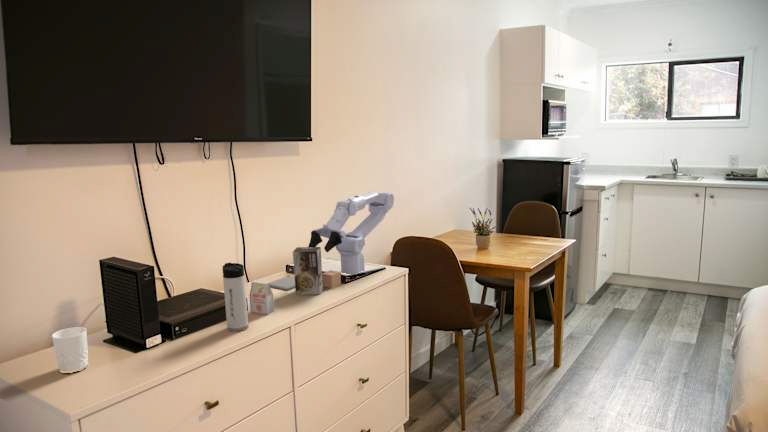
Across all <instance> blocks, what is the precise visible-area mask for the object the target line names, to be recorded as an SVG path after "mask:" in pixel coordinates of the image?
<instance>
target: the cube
mask: <svg viewBox="0 0 768 432" xmlns="http://www.w3.org/2000/svg"><path fill="white" fill-rule="evenodd" d="M341 278H342V277H341V271H335V270H328V271H325V272H322V280H323V288H329V289H335V288H337V287H339V286H341V285H342V281H341V280H342V279H341Z"/></svg>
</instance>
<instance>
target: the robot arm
mask: <svg viewBox="0 0 768 432" xmlns="http://www.w3.org/2000/svg"><path fill="white" fill-rule="evenodd" d="M394 203H395V197H394V194H393V192H389V191H388V192H387V191H386V192H385V191H373V190H372V191H369V192H368V194H365V195H363V196H362V195H359V194H355V195H354V197H348V198H347V199H346V200H340V201H337V202H336V205H335V209H334V212H333V214H332V216H330V218H329V220H328V221H327V222H326V224H323V225H322V227H320V228H315V229H313V230H312V231H311V232H310V241H309V244H308V246H307V247H318V245H319V244H320V243H322V242H323V239H322V237H323V238H326V239H328V240H327V242H326V244H325V245H324V248H323V250H325V253H329V252H330V251H331V250H332V249H334V248H335V249H336V251H337V252H338V254H339V255H340V267H341V268H340V273H341V272H342V273H346V274H356V273H359V272H361V271H365V257H364V254H363V253H362V250H363V248H364V247H365V245H366V240H365V239H366V237H367V236H369V234H371V232H372V231H374V229H376V227H377V226H379V224H380V223H381V222H382V221H383V220H384V218H385V216H386V215H387V213H388V212H389V211H390V210H391V209H392V208H394ZM367 205H368V212H369V213H370V214H369V215H367V216H366V218H364V219H363V220H362V221H360V223H359V224H358V226H356V227H355V228H353V230H352V231H350V232H345V231H344V230H342V229H343V227H344V226H345V225H346V223H347V221H348V220H349V218H350V217H353V216H354V217H355V216H356V215H357V213H358V212H359V211H361V210H362V211H363V210H364V209H365V208H366V206H367ZM365 272H366V271H365ZM358 277H359V276H357V277H356V278H358Z"/></svg>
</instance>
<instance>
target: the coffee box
mask: <svg viewBox="0 0 768 432" xmlns="http://www.w3.org/2000/svg"><path fill="white" fill-rule="evenodd" d="M292 259H293V260H292V261H293V271H294V272H293V274H294V278H295V288H294V289H295V295H321V293H322V291H324V287H323V280H322V273H323V270H322V269H323V267H322V250H321V247H320V246H316V247H308V246H303V247H302V246H301V247H299V246H298V247H296V248H295V249H294V250H293V251H292Z"/></svg>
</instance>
